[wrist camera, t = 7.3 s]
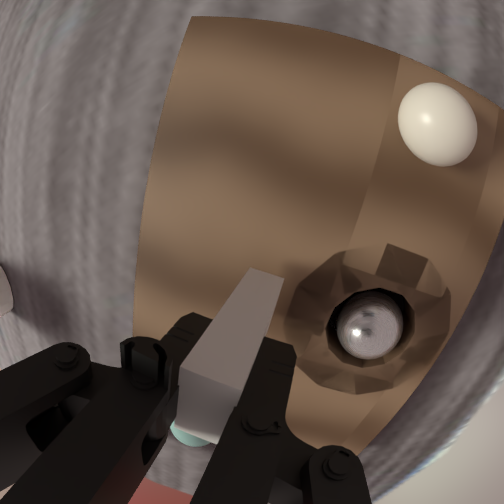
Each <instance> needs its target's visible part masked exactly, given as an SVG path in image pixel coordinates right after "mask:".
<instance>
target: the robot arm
mask: <svg viewBox="0 0 504 504" xmlns="http://www.w3.org/2000/svg"><path fill="white" fill-rule="evenodd" d="M283 281H284V278H282V277H279V276H275V275H272V274H269V273H266V272H263V271H260V270H256V269H253V268H249V270H248V271H247V273H246V274H245V275H244V277H243V278H242V280H241V281H240V282H239V284H238V285H237V287H236V288H235V290H234V291H233V292H232V294H231V295H230V297H229V298H228V299H227V301H226V302H225V304H224V305H223V307H222V308H221V309H220V311H219V312H218V314H217V315H216V316H215V318H214V319H210V318H208V317H205V316H202V315H200V314H197V313H194V312H192V313H189V314H187V315H185V316H182V317H181V318H180V319H179V320H178V321H177V322H176V323H175V324H174V325H173V327H172V328H171V329H170V330H169V331H168V332H167V334H165V335H164V336H163V338H162V339H161V340H160V341H159V340H157V339H154V338H151V337H145V336H136V337H131V338H127V339H126V340H124V341H123V342H121V343H120V352H121V366H122V367H121V368H117V367H110V366H106V365H102V364H99V363H95V362H91V360H90V355H89V353H88V352H87V350H86V349H85V348H83V347H82V346H80V345H78V344H75V343H71V342H62V343H59V344H55V345H53V346H51V347H49V348H47V349H45V350H43V351H40V352H38V353H36V354H34V355H32V356H30V357H28V358H26V359H24V360H22V361H20V362H18V363H15V364H13V365H11V366H9V367H7V368H5V369H3V370H1V371H0V491H2V490H4V489H5V488H7V487H9V486H10V485H12V484H14V483H15V484H14V485H13V486H12V487H11V488H10V490H9V491H8V492H7V493H6V494H5V495H4V496H3V498H2V499H1V500H0V504H128V502H129V501H130V499H131V497H132V496H133V494H134V492H135V491H136V489H137V488H138V486H139V485H140V483H141V481H142V480H143V478H144V476H145V475H146V473H147V472H148V470H149V468H150V467H151V465H152V463H153V462H154V460H155V458H156V457H157V455H158V454H159V452H160V450H161V449H162V447H163V445H164V444H165V442H166V439H167V436H168V429H169V428H170V426H171V424H172V423H173V421H174V420H175V421H174V427H175V428H177V429H179V430H182V431H184V432H186V433H189V434H191V435H194V436H196V437H199V438H201V439H204V440H206V441H209V442H212V443H214V444H217V446H216V448H215V450H214V452H213V455H212V457H211V459H210V461H209V463H208V466H207V468H206V470H205V472H204V474H203V476H202V479H201V481H200V483H199V485H198V487H197V489H196V491H195V493H194V495H193V498H192V500H191V502H190V504H267V503H268V502H269V503H270V504H372V503H371V498H370V494H369V490H368V486H367V482H366V478H365V474H364V470H363V466H362V464H361V462H360V460H359V458H358V456H356V455H355V454H354V453H353V452H352V451H351V450H349V449H347V448H345V447H343V446H337V445H328V446H323V447H321V448H319V449H317V448H315V447H313V446H311V445H309V444H307V443H305V442H303V441H302V440H300V439H299V438H297V437H296V436H295V435H294V434H293V433H292V432H291V431H290V429H289V427H288V425H287V423H286V419H285V415H286V408H287V404H288V399H289V394H290V390H291V385H292V380H293V379H292V378H293V375H294V370H295V369H294V368H295V364H296V359H297V355H296V352H295V350H294V347H293V345H291V344H287V343H284V342H281V341H278V340H275V339H272V338H268V337H265V336H266V334H267V331H268V328H269V325H270V322H271V319H272V316H273V313H274V310H275V306H276V303H277V300H278V297H279V294H280V291H281V288H282V284H283Z"/></svg>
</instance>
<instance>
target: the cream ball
mask: <svg viewBox="0 0 504 504" xmlns="http://www.w3.org/2000/svg"><path fill="white" fill-rule="evenodd" d="M398 125H399V130H400V133H401V136H402V138H403V140H404V142H405V144H406V145H407V147H408V148H409V149H410V150H411V152H412V153H413V154H415V155H416V156H417V157H418V158H420V159H421V160H422V161H424V162H426V163H429V164H431V165H435V166H441V167H445V166H452V165H455V164H458V163H460V162H462V161H463V160H464V159H466V158H467V157H468V156H469V154H470V153H471V152H472V150H473V148H474V146H475V143H476V139H477V122H476V118H475V115H474V112H473V110H472V108H471V106H470V105H469V103H468V102H467V100H466V99H465V98H464V97H463V96H462V95H461V94H460V93H459V92H457V91H456V90H454V89H453V88H451V87H449V86H447V85H444V84H441V83H434V82H430V83H423V84H420V85H418V86H416V87H414V88H412V89H411V90H410V91H409V92H408V93H407V94H406V95H405V96H404V98H403V99H402V102H401V104H400V107H399V112H398Z"/></svg>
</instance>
